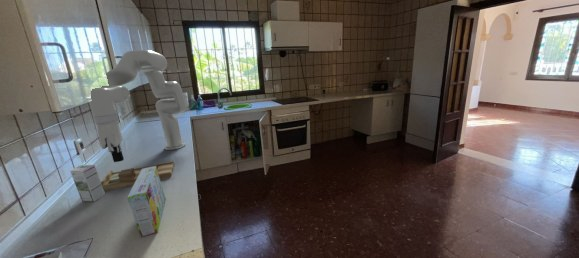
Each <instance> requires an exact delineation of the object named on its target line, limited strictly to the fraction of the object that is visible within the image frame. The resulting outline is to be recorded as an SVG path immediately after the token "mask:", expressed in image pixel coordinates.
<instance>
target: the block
mask: <svg viewBox="0 0 579 258" xmlns="http://www.w3.org/2000/svg"><path fill="white" fill-rule="evenodd" d="M134 169H135V167H134V168H127V169H122V170H120V171H121V172H120V173H119V174H118V176H119V180H120V182H121V181H126V180H131V179H134V178H135V176H136V174H135V171H134Z"/></svg>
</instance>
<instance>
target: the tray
mask: <svg viewBox="0 0 579 258" xmlns="http://www.w3.org/2000/svg"><path fill="white" fill-rule="evenodd" d="M153 166H156V167H157V171H158V174H159V178H160V180H164V179H169V178H172V177H173V174H174V173H173V172H174V168H175V163H174V161H173V160H172V161H167V162H161V163H157V164H151V165H146V166H142V167H141V166H140V167H134V171H135V174H136V176H135V178H134V179H131V180H126V181H121V182H120V180H119V176H118V174H119V173H120V172H121V170H120V171H115V172H113V170H110V171H109V172H108V173H107V174H106V175H105V176H104V177H103V179H102V180H100V182H101V184H102V187H103V190H104V192H106V191H111V190H116V189H121V188H126V187H131V186H133V185H134V183H135V181H136V179H137V177H138V175H139V174H140V172H141V170H142V169H143V168H148V167H153Z"/></svg>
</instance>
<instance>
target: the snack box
mask: <svg viewBox="0 0 579 258" xmlns="http://www.w3.org/2000/svg"><path fill="white" fill-rule="evenodd" d="M165 195H166V194H165V192H164V188H163V184H162V182H161V179H160V178H159V174H158V171H157V167H156V166H153V167H148V168H143V169H142V170H141V172H140V174H139V175H138V177H137V179H136V181H135V183H134V185H132V187H131V189H130V191H129V193H128V195H127V197H126V199H127V202H128V204H129V207H130V209H131V212H132V215H133V218H134V222H135V224H136V226H137V230H138V233H139V236H140V238H143V237H146V236H149V235H154V234H157V233H158V232H159V228H160V224H161V219H162V215H163V212H164V207H165V203H166V199H167V198H166V196H165Z"/></svg>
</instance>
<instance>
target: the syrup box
mask: <svg viewBox="0 0 579 258" xmlns="http://www.w3.org/2000/svg"><path fill="white" fill-rule="evenodd" d="M69 173H70V175H71V177H72V179H73V181H74V184H75V187H76V190H77V191H78V195H79V197H80V199H81V202H82V203H83V202H90V203H91V202H96V201H97V200H99V199H100V198H102V197H103V196H105V195H106V193H105V191H104V190H103V187H102V184H101V180H100V176H99V174H98V171H97V168H96V166H95V164H81V165H78V166H76V167H74V168H73V169H71V170H70V171H69Z"/></svg>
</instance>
